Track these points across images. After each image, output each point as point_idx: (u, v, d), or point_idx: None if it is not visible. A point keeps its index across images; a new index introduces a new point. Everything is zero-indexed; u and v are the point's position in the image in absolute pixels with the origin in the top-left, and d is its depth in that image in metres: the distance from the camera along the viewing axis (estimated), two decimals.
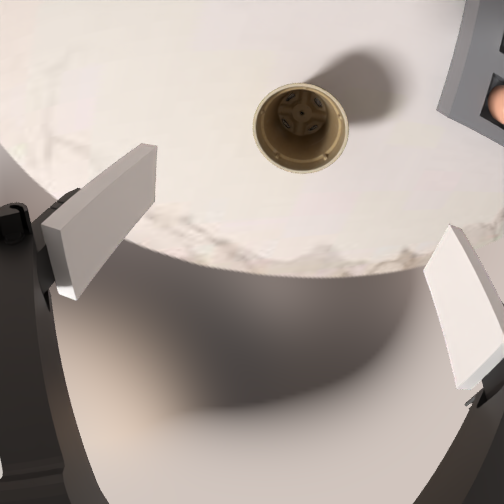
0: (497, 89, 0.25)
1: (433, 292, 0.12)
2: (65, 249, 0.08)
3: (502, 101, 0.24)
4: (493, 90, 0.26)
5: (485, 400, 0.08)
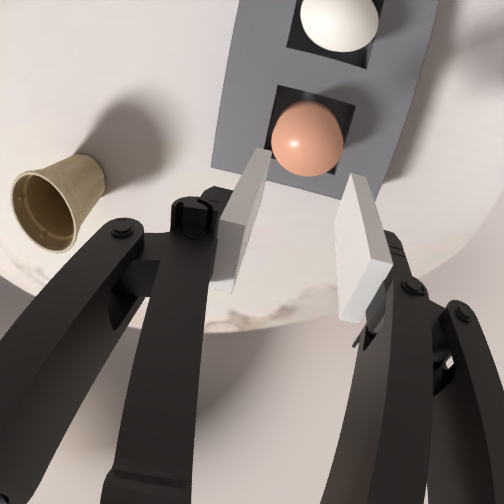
0: (284, 110, 0.22)
1: (336, 237, 0.14)
2: (242, 244, 0.09)
3: None
4: (281, 113, 0.23)
5: (372, 338, 0.09)
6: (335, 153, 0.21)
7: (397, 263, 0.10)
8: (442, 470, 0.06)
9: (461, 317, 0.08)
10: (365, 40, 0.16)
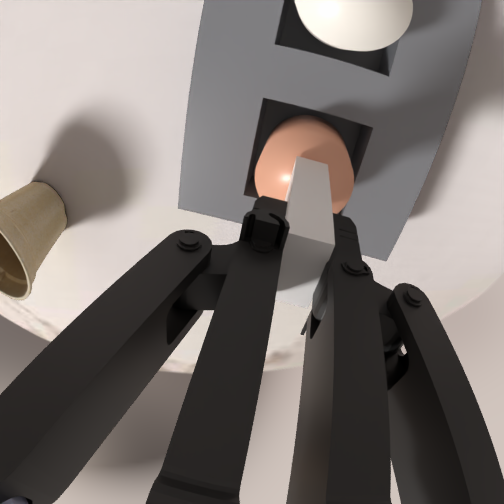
0: (274, 130, 0.17)
1: None
2: (304, 256, 0.10)
3: None
4: (270, 134, 0.18)
5: (318, 324, 0.09)
6: (342, 194, 0.15)
7: (346, 247, 0.10)
8: (409, 465, 0.06)
9: (411, 301, 0.08)
10: (393, 34, 0.10)
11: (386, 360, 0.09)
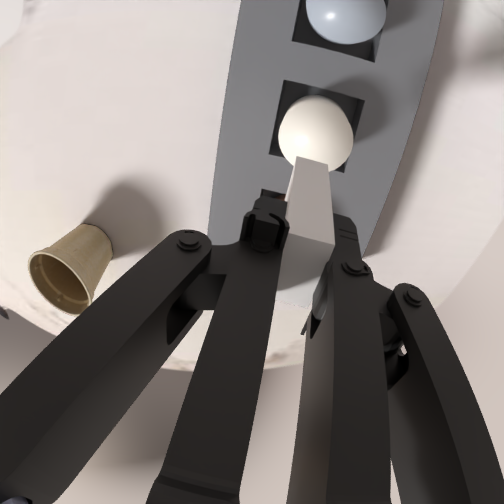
0: None
1: None
2: (304, 256, 0.10)
3: None
4: None
5: (318, 324, 0.09)
6: None
7: (346, 246, 0.10)
8: (409, 466, 0.06)
9: (410, 301, 0.08)
10: (339, 161, 0.20)
11: (386, 360, 0.09)
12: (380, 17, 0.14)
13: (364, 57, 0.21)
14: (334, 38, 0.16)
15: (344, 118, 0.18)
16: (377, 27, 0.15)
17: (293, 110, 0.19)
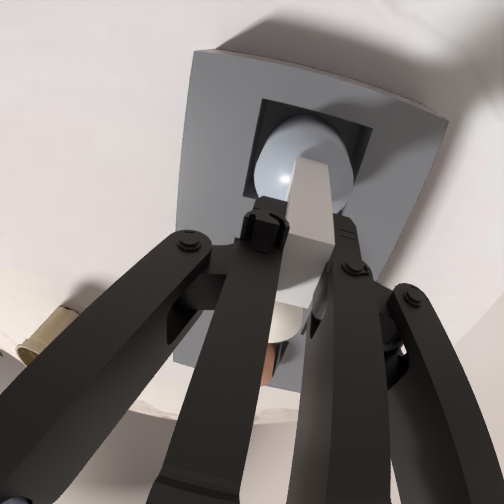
0: None
1: None
2: (304, 256, 0.10)
3: None
4: None
5: (318, 324, 0.09)
6: (265, 379, 0.27)
7: (346, 247, 0.10)
8: (409, 465, 0.06)
9: (410, 301, 0.08)
10: (287, 336, 0.21)
11: (386, 360, 0.09)
12: (344, 192, 0.15)
13: None
14: None
15: None
16: (339, 205, 0.16)
17: None
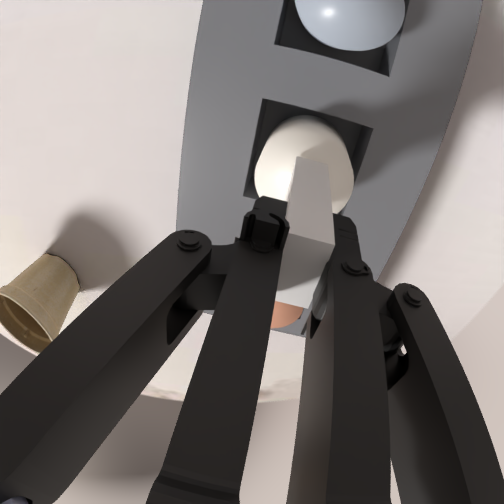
0: None
1: None
2: (304, 256, 0.10)
3: None
4: None
5: (318, 324, 0.09)
6: (295, 312, 0.21)
7: (346, 246, 0.10)
8: (409, 465, 0.06)
9: (410, 301, 0.08)
10: (334, 209, 0.16)
11: (386, 360, 0.09)
12: (396, 16, 0.10)
13: (373, 66, 0.16)
14: (333, 43, 0.11)
15: (343, 154, 0.14)
16: (392, 30, 0.10)
17: (274, 143, 0.14)
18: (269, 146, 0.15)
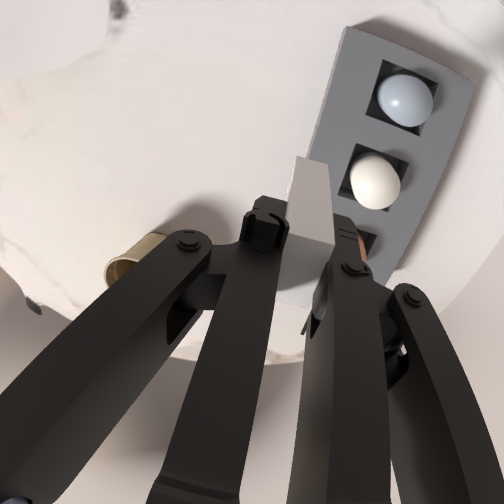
0: None
1: None
2: (304, 256, 0.10)
3: None
4: None
5: (318, 324, 0.09)
6: None
7: (346, 247, 0.10)
8: (409, 465, 0.06)
9: (410, 301, 0.08)
10: (389, 202, 0.30)
11: (386, 360, 0.09)
12: (428, 110, 0.24)
13: None
14: (398, 122, 0.25)
15: (396, 175, 0.28)
16: (425, 117, 0.24)
17: (365, 167, 0.28)
18: (362, 168, 0.29)
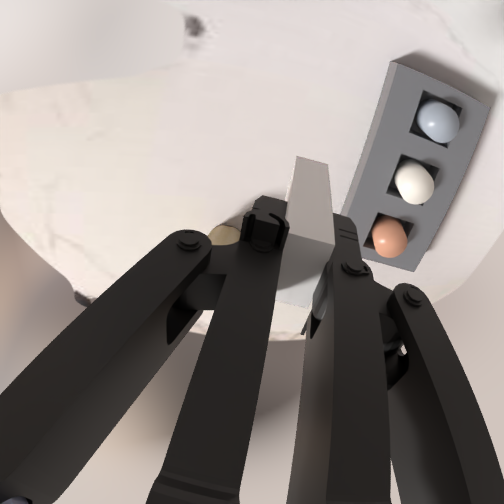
0: (378, 221, 0.44)
1: None
2: (304, 256, 0.10)
3: (375, 237, 0.43)
4: (375, 221, 0.45)
5: (318, 324, 0.09)
6: (403, 248, 0.42)
7: (346, 246, 0.10)
8: (409, 465, 0.06)
9: (411, 301, 0.08)
10: (426, 199, 0.37)
11: (386, 360, 0.09)
12: (456, 130, 0.31)
13: None
14: (434, 139, 0.33)
15: (431, 178, 0.36)
16: (453, 135, 0.32)
17: (409, 173, 0.36)
18: (407, 174, 0.36)
